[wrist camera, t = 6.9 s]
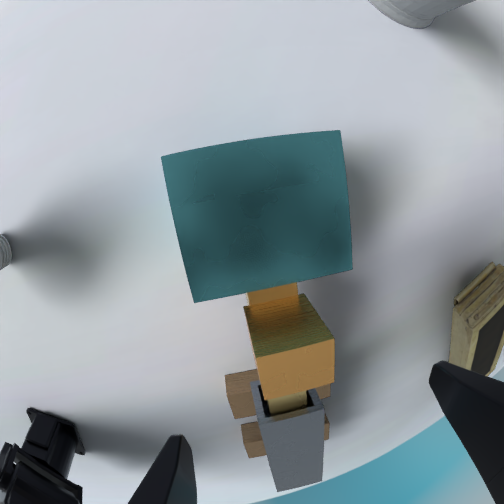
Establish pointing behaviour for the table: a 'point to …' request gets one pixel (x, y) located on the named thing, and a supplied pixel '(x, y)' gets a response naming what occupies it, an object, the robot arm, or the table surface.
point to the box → (479, 322)
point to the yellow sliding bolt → (288, 346)
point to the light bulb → (4, 252)
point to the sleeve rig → (265, 259)
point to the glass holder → (416, 10)
